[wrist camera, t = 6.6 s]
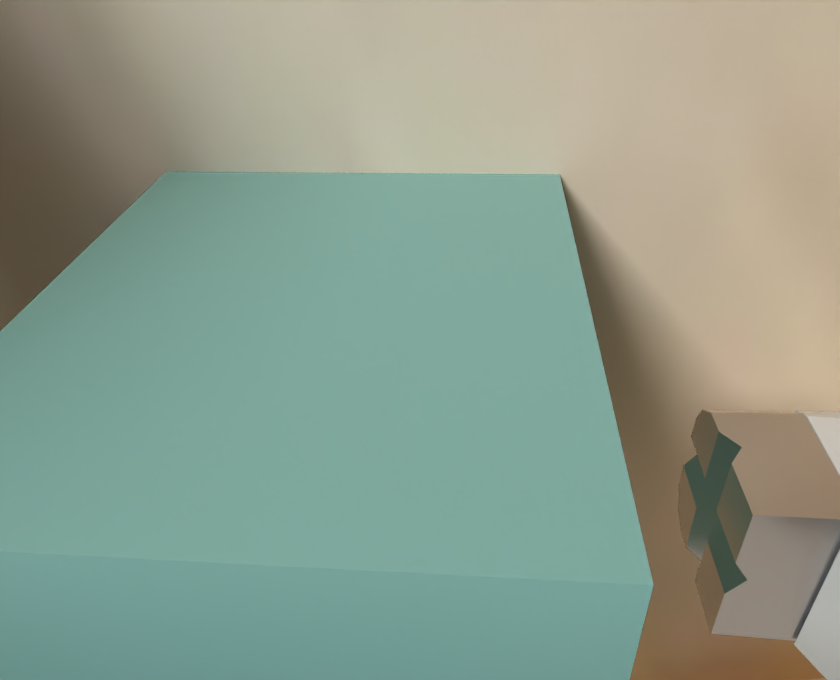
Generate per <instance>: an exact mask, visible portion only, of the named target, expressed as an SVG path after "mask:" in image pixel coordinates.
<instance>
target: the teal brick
mask: <svg viewBox="0 0 840 680" xmlns="http://www.w3.org/2000/svg"><path fill="white" fill-rule="evenodd" d="M653 586H654V585H653V580H652V576H651V571H650V567H649V563H648V558H647V554H646V550H645V545H644V541H643V536H642V532H641V528H640V523H639V519H638V515H637V510H636V506H635V502H634V497H633V493H632V488H631V484H630V480H629V475H628V471H627V467H626V462H625V458H624V453H623V449H622V445H621V440H620V436H619V432H618V427H617V423H616V418H615V414H614V410H613V405H612V401H611V397H610V392H609V388H608V383H607V379H606V375H605V370H604V366H603V362H602V357H601V353H600V349H599V344H598V340H597V335H596V331H595V327H594V322H593V318H592V314H591V309H590V305H589V300H588V296H587V292H586V287H585V283H584V279H583V274H582V270H581V265H580V261H579V257H578V252H577V248H576V244H575V239H574V235H573V231H572V226H571V222H570V217H569V213H568V209H567V204H566V200H565V196H564V191H563V187H562V182H561V178H560V175H555V174H414V173H272V172H165V173H164V174H163V175H162V176H161V177H160V178H159V179H158V180H157V181H156V182H155V183H154V184H153V185H152V186H151V187H149V188H148V189H147V190H146V191H145V192H144V193H143V194H142V195H141V196H140V197H139V198H138V199H137V200H136V201H135V202H134V203H133V204H132V205H131V206H130V207H129V208H128V209H127V210H126V211H125V212H123V213H122V214H121V215H120V216H119V217H118V218H117V219H116V220H115V221H114V222H113V223H112V224H111V225H110V226H109V227H108V228H107V229H106V230H105V231H104V232H103V233H102V234H101V235H100V236H99V237H98V238H96V239H95V240H94V241H93V242H92V243H91V244H90V245H89V246H88V247H87V248H86V249H85V250H84V251H83V252H82V253H81V254H80V255H79V256H78V257H77V258H76V259H75V260H74V261H73V262H72V263H70V264H69V265H68V266H67V267H66V268H65V269H64V270H63V271H62V272H61V273H60V274H59V275H58V276H57V277H56V278H55V279H54V280H53V281H52V282H51V283H50V284H49V285H48V286H47V287H46V288H45V289H43V290H42V291H41V292H40V293H39V294H38V295H37V296H36V297H35V298H34V299H33V300H32V301H31V302H30V303H29V304H28V305H27V306H26V307H25V308H24V309H23V310H22V311H21V312H20V313H19V314H17V315H16V316H15V317H14V318H13V319H12V320H11V321H10V322H9V323H8V324H7V325H6V326H5V327H4V328H3V329H2V330H1V331H0V680H630V676H631V672H632V668H633V664H634V660H635V656H636V652H637V648H638V644H639V641H640V637H641V633H642V629H643V625H644V621H645V617H646V613H647V609H648V605H649V602H650V598H651V594H652V590H653Z"/></svg>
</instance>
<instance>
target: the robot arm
mask: <svg viewBox="0 0 840 680" xmlns="http://www.w3.org/2000/svg"><path fill="white" fill-rule="evenodd" d="M691 438H692V441H693V444H694V447H695V450H696V453H697V455H696V456H695V457H694V458H693V459H691V460H690V461H689V462H688V463H686V464H685V465H684V466H683V471H682V475H681V480H680V484H679V499H678V512H679V519H680V526H681V531H682V535H683V539H684V542H685V546H686V548H688V549H689V550H690V551H691V552H692V553H693V554H694V555H695V556H696V557H698V558H699V559H700V560H701V563H700V566H699V569H698V573H697V576H696V579H695V581H696V584H697V588H698V591H699V595H700V598H701V601H702V605H703V608H704V611H705V615H706V618H707V622H708V625H709V628H710V632H711V634H721V635H732V636H744V637H755V638H767V639H779V640H790V641H796V642H795V644H794V645H795V646H796V647H797V648H798V650H799V651H800V652H801V653H802V654H803V655H804V656H805V657H806V658H807V659H808V660H809V661H810V662H811V664H812V665H813V666H814V667H815V668H816V669H817V670H818V671H819V672H820V673H821V674H822V675H823V676H824V677H825V679H826V680H840V412H831V411H796V412H795V413H794V412H771V411H737V410H704V409H702V410H701V412H700V414H699V415H698V417H697V418H696V421H695V424H694V428H693V432H692V435H691Z"/></svg>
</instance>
